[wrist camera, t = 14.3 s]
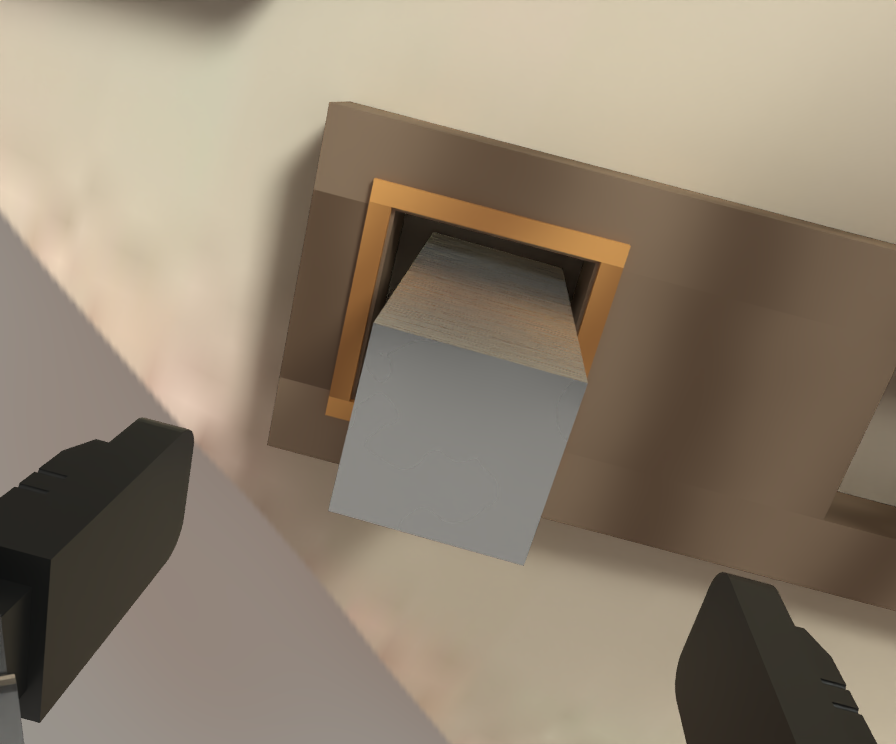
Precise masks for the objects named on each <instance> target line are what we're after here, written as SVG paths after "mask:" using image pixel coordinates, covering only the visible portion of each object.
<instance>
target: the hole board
mask: <svg viewBox="0 0 896 744" xmlns="http://www.w3.org/2000/svg"><path fill="white" fill-rule="evenodd" d="M405 213H406V214H410V215H413V216H417V217H421V218H425V219H429V220H433V221H436V222H440V223H444V224H448V225H452V226H455V227H459V228H463V229H467V230H471V231H474V232H478V233H482V234H486V235H490V236H493V237H497V238H501V239H505V240H509V241H513V242H516V243H520V244H524V245H528V246H532V247H535V248H539V249H543V250H547V251H551V252H554V253H558V254H562V255H566V256H570V257H573V258H577V259H581V260H584V263H583V266H582V269H581V273H580V276H579V279H578V282H577V286H576V289H575V292H574V295H573V298H572V302H571V310H572V314H573V319H574V323H575V328H576V332H577V337H578V341H579V346H580V350H581V355H582V359H583V364H584V368H585V373H586V377H587V382H588V384H587V387H586V390H585V393H584V396H583V399H582V401H581V404H580V407H579V410H578V413H577V416H576V418H575V421H574V424H573V427H572V430H571V433H570V435H569V438H568V441H567V444H566V447H565V450H564V453H563V455H562V458H561V461H560V464H559V467H558V470H557V472H556V475H555V478H554V481H553V484H552V487H551V489H550V492H549V495H548V498H547V501H546V504H545V507H544V509H543V512H542V515H541V518H545V519H549V520H553V521H557V522H560V523H564V524H568V525H572V526H575V527H579V528H583V529H587V530H591V531H594V532H598V533H602V534H606V535H610V536H613V537H617V538H621V539H625V540H629V541H632V542H636V543H640V544H644V545H647V546H651V547H655V548H659V549H663V550H666V551H670V552H674V553H678V554H682V555H685V556H689V557H693V558H697V559H701V560H704V561H708V562H712V563H716V564H719V565H723V566H727V567H731V568H735V569H738V570H742V571H746V572H750V573H754V574H757V575H761V576H765V577H769V578H772V579H776V580H780V581H784V582H788V583H791V584H795V585H799V586H803V587H807V588H810V589H814V590H818V591H822V592H826V593H829V594H833V595H837V596H841V597H844V598H848V599H852V600H856V601H860V602H863V603H867V604H871V605H875V606H879V607H882V608H886V609H890V610H894V611H896V507H894V506H890V505H886V504H883V503H879V502H875V501H871V500H867V499H864V498H860V497H856V496H852V495H848V494H845V493H841V492H837V490H838V488H839V486H840V484H841V482H842V480H843V478H844V476H845V473H846V471H847V469H848V467H849V465H850V463H851V461H852V459H853V457H854V455H855V452H856V450H857V448H858V446H859V444H860V442H861V440H862V438H863V436H864V433H865V431H866V429H867V427H868V425H869V423H870V421H871V419H872V417H873V415H874V412H875V410H876V408H877V406H878V404H879V402H880V400H881V398H882V396H883V394H884V391H885V389H886V387H887V385H888V383H889V381H890V379H891V377H892V375H893V373H894V370H895V368H896V245H895V244H891V243H887V242H884V241H880V240H876V239H872V238H868V237H865V236H861V235H857V234H853V233H849V232H845V231H842V230H838V229H834V228H830V227H826V226H823V225H819V224H815V223H811V222H807V221H804V220H800V219H796V218H792V217H788V216H784V215H781V214H777V213H773V212H769V211H765V210H762V209H758V208H754V207H750V206H746V205H742V204H739V203H735V202H731V201H727V200H723V199H720V198H716V197H712V196H708V195H704V194H700V193H697V192H693V191H689V190H685V189H681V188H678V187H674V186H670V185H666V184H662V183H658V182H655V181H651V180H647V179H643V178H639V177H636V176H632V175H628V174H624V173H620V172H616V171H613V170H609V169H605V168H601V167H597V166H594V165H590V164H586V163H582V162H578V161H574V160H571V159H567V158H563V157H559V156H555V155H552V154H548V153H544V152H540V151H536V150H533V149H529V148H525V147H521V146H517V145H513V144H510V143H506V142H502V141H498V140H494V139H491V138H487V137H483V136H479V135H475V134H471V133H468V132H464V131H460V130H456V129H452V128H449V127H445V126H441V125H437V124H433V123H429V122H426V121H422V120H418V119H414V118H410V117H407V116H403V115H399V114H395V113H391V112H387V111H384V110H380V109H376V108H372V107H368V106H365V105H361V104H357V103H353V102H329V107H328V112H327V118H326V123H325V129H324V134H323V140H322V145H321V151H320V156H319V162H318V167H317V173H316V179H315V184H314V190H313V195H312V201H311V206H310V212H309V217H308V223H307V228H306V234H305V239H304V245H303V250H302V256H301V261H300V267H299V272H298V278H297V283H296V289H295V294H294V300H293V305H292V311H291V316H290V322H289V327H288V333H287V339H286V344H285V350H284V355H283V361H282V366H281V372H280V377H279V383H278V388H277V394H276V399H275V405H274V410H273V416H272V421H271V427H270V432H269V438H268V443H267V445H269V446H272V447H276V448H280V449H284V450H288V451H291V452H295V453H299V454H303V455H307V456H310V457H314V458H318V459H322V460H325V461H329V462H333V463H337V464H340V460H341V456H342V452H343V447H344V443H345V439H346V435H347V431H348V427H349V422H350V418H351V414H352V410H353V406H354V402H355V397H356V393H357V389H358V385H359V381H360V377H361V373H362V368H363V364H364V360H365V356H366V352H367V348H368V343H369V339H370V335H371V331H372V327H373V323H374V321H375V320H376V318H377V317H378V315H379V314H380V312H381V311H382V309H383V308H384V306H385V302H386V297H387V293H388V288H389V284H390V279H391V275H392V270H393V266H394V261H395V257H396V252H397V248H398V244H399V239H400V235H401V230H402V226H403V221H404V217H405Z"/></svg>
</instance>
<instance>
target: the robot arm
mask: <svg viewBox="0 0 896 744" xmlns="http://www.w3.org/2000/svg"><path fill="white" fill-rule="evenodd" d="M193 446H194V436H193V433H192V431H191V430H189V429H185V428H181V427H178V426H174V425H170V424H166V423H162V422H159V421H155V420H151V419H147V418H139V419H137V420H136V421H135V422H134V423H132V424H131V425H130V426H129V427H127V428H126V429H125V430H124V431H123V432H121V433H120V434H119V435H118V436H116V437H115V438H114V439H113V440H112V441H110V442H109V443H108V442H105V441H101V440H97V439H96V440H92V441H90V442H87V443H84V444H81V445H78V446H75V447H72V448H69V449H66V450H63V451H61V452H60V453H59V454H57V455H56V456H55V457H53V458H52V459H51V460H50V461H48V462H47V463H46V464H44V465H43V466H42V467H40V468H39V471H38V473H37V472H34V473H32V474H31V475H30V476H28V477H27V478H26V479H24V480H23V481H22V482H20V484H19V487H18V488H17V487H14V488H12V489H11V490H10V491H9V492H7V493H6V494H5V495H3V496H2V497H1V498H0V744H24V739H23V731H22V723H21V718H24V719H27V720H31V721H35V722H38V723H40V722H41V721H42V719H43V718H44V717H45V716H46V714H47V713H48V712H49V711H50V709H51V708H52V707H53V705H54V704H55V703H56V702H57V700H58V699H59V698H60V697H61V695H62V694H63V693H64V691H65V690H66V689H67V688H68V686H69V685H70V684H71V683H72V681H73V680H74V679H75V678H76V676H77V675H78V673H79V672H80V671H81V670H82V669H83V667H84V666H85V665H86V664H87V662H88V661H89V660H90V658H91V657H92V656H93V654H94V653H95V652H96V651H97V649H98V648H99V647H100V646H101V644H102V643H103V642H104V641H105V639H106V638H107V637H108V635H109V634H110V633H111V631H112V630H113V629H114V628H115V627H116V625H117V624H118V623H119V622H120V620H121V619H122V618H123V616H124V615H125V614H126V613H127V611H128V610H129V609H130V608H131V606H132V605H133V604H134V602H135V601H136V600H137V599H138V597H139V596H140V595H141V593H142V592H143V591H144V590H145V589H146V587H147V586H148V584H149V583H150V582H151V581H152V580H153V578H154V577H155V576H156V574H157V573H158V572H159V570H160V569H161V568H162V567H163V565H164V564H165V563H166V562H167V560H168V559H169V557H170V556H171V554H172V552H173V550H174V548H175V546H176V543H177V541H178V538H179V535H180V532H181V529H182V524H183V519H184V513H185V505H186V498H187V491H188V483H189V476H190V469H191V461H192V454H193ZM675 693H676V700H677V705H678V709H679V713H680V717H681V722H682V726H683V730H684V734H685V739H686V743H687V744H877V742H876V740H875V739H874V737H873V735H872V733H871V731H870V729H869V727H868V725H867V723H866V722H865V720H864V718H863V716H862V715H860V714H858V709H859V708H858V706H857V705H856V703H855V701H854V699H853V697H852V695H851V693H850V691H848V690H846V684H845V682H844V680H843V678H842V676H841V674H840V672H839V670H838V669H837V667H836V665H835V663H834V661H833V659H832V657H831V656H830V655H829V654H828V653H827V652H826V651H825V650H824V649H823V648H822V647H821V646H820V644H819V643H818V642H817V641H816V640H815V639H814V638H813V637H812V636H811V635H810V634H809V633H808V632H807V631H806V630H805V629H804V628H800V627H796V626H794V623H793V621H792V619H791V617H790V615H789V613H788V611H787V609H786V607H785V605H784V603H783V601H782V599H781V597H780V595H779V593H778V591H777V589H776V588H775V587H774V586H772V585H770V584H766V583H762V582H758V581H755V580H751V579H747V578H743V577H739V576H736V575H732V574H728V573H724V572H721V573H719V574H718V575H717V576H716V577H715V578H714V579H713V581H712V583H711V585H710V587H709V589H708V592H707V594H706V596H705V599H704V601H703V603H702V606H701V608H700V610H699V613H698V615H697V617H696V620H695V622H694V624H693V627H692V629H691V632H690V634H689V636H688V639H687V641H686V643H685V646H684V648H683V650H682V653H681V655H680V658H679V662H678V666H677V672H676V680H675Z"/></svg>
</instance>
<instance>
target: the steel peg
mask: <svg viewBox="0 0 896 744" xmlns="http://www.w3.org/2000/svg"><path fill="white" fill-rule="evenodd" d="M587 384H588V382H587V377H586V373H585V368H584V364H583V359H582V355H581V350H580V346H579V341H578V337H577V332H576V328H575V323H574V319H573V314H572V310H571V305H570V301H569V296H568V292H567V287H566V283H565V278H564V274H563V270H562V268H560V267H557V266H553V265H549V264H546V263H542V262H539V261H535V260H532V259H528V258H525V257H521V256H517V255H514V254H510V253H507V252H503V251H500V250H496V249H493V248H489V247H486V246H482V245H478V244H475V243H471V242H468V241H464V240H461V239H457V238H454V237H450V236H446V235H443V234H439V233H436V232H433V233H432V235H431V236H430V238H429V239H428V241H427V242H426V244H425V245H424V247H423V248H422V250H421V252H420V253H419V255H418V256H417V258H416V259H415V261H414V262H413V264H412V265H411V267H410V268H409V270H408V271H407V273H406V274H405V276H404V277H403V279H402V280H401V282H400V283H399V285H398V286H397V288H396V289H395V291H394V292H393V294H392V296H391V297H390V299H389V300H388V302H387V303H386V305H385V306H384V308H383V309H382V311H381V312H380V314H379V315H378V317H377V318H376V320H375V321H374V323H373V327H372V331H371V335H370V339H369V343H368V348H367V352H366V356H365V360H364V364H363V368H362V373H361V377H360V381H359V385H358V389H357V393H356V397H355V402H354V406H353V410H352V414H351V418H350V422H349V427H348V431H347V435H346V439H345V443H344V447H343V452H342V456H341V460H340V464H339V468H338V472H337V476H336V481H335V485H334V489H333V493H332V497H331V501H330V506H329V510H328V511H330V512H334V513H338V514H341V515H345V516H348V517H352V518H355V519H359V520H362V521H366V522H370V523H373V524H377V525H380V526H384V527H387V528H391V529H395V530H398V531H402V532H405V533H409V534H412V535H416V536H419V537H423V538H427V539H430V540H434V541H437V542H441V543H444V544H448V545H452V546H455V547H459V548H462V549H466V550H469V551H473V552H477V553H480V554H484V555H487V556H491V557H494V558H498V559H501V560H505V561H509V562H512V563H516V564H519V565H523V566H524V563H525V561H526V558H527V555H528V552H529V549H530V546H531V543H532V541H533V538H534V535H535V532H536V529H537V526H538V524H539V521H540V518H541V515H542V512H543V509H544V507H545V504H546V501H547V498H548V495H549V492H550V489H551V487H552V484H553V481H554V478H555V475H556V472H557V470H558V467H559V464H560V461H561V458H562V455H563V453H564V450H565V447H566V444H567V441H568V438H569V435H570V433H571V430H572V427H573V424H574V421H575V418H576V416H577V413H578V410H579V407H580V404H581V401H582V399H583V396H584V393H585V390H586V387H587Z"/></svg>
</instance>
